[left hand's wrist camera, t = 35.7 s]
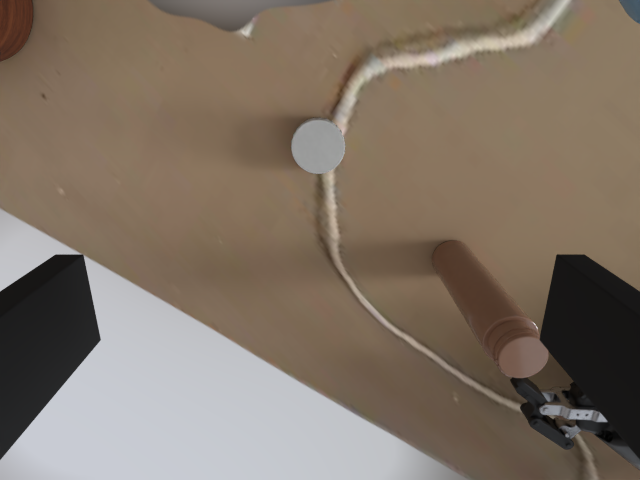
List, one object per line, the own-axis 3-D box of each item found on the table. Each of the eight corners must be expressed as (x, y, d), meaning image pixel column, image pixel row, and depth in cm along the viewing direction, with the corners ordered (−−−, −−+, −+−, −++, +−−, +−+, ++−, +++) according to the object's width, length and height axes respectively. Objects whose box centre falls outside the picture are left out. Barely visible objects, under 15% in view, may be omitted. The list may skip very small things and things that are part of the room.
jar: (445, 233, 46) (517, 322, 29) (478, 250, 47) (566, 347, 30) (424, 265, 47) (481, 368, 31) (456, 281, 48) (529, 391, 31)
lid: (322, 179, 44) (322, 185, 42) (281, 148, 43) (279, 151, 41) (354, 139, 43) (356, 142, 41) (313, 105, 42) (313, 107, 39)
